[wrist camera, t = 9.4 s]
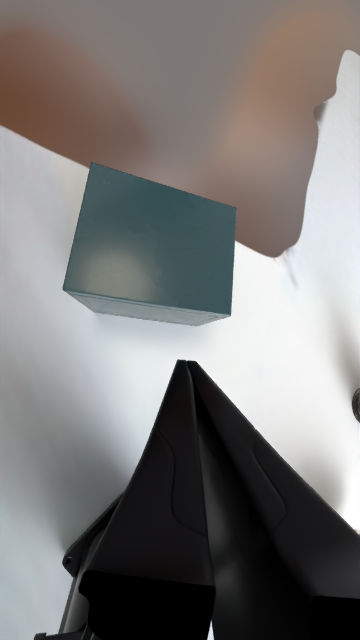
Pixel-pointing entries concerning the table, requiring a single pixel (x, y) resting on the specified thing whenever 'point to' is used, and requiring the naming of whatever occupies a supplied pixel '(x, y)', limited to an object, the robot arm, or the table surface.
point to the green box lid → (152, 245)
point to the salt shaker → (356, 405)
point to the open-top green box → (144, 311)
